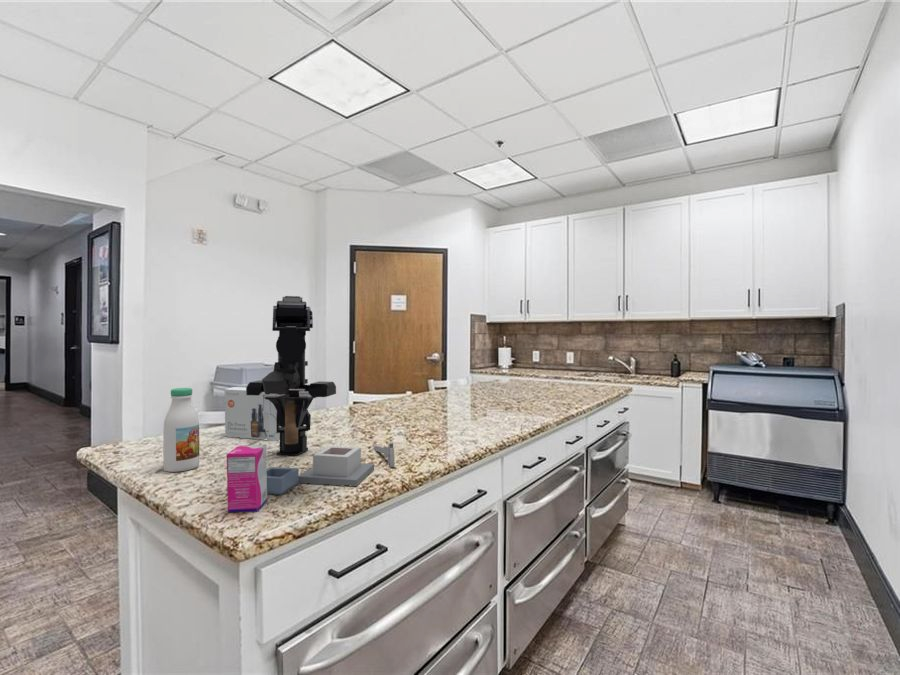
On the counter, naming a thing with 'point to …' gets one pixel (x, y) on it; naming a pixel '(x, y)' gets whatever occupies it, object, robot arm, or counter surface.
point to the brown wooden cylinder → (290, 421)
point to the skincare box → (249, 415)
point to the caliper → (386, 452)
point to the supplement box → (246, 478)
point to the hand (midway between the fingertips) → (291, 427)
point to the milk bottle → (181, 433)
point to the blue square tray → (281, 479)
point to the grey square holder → (337, 467)
